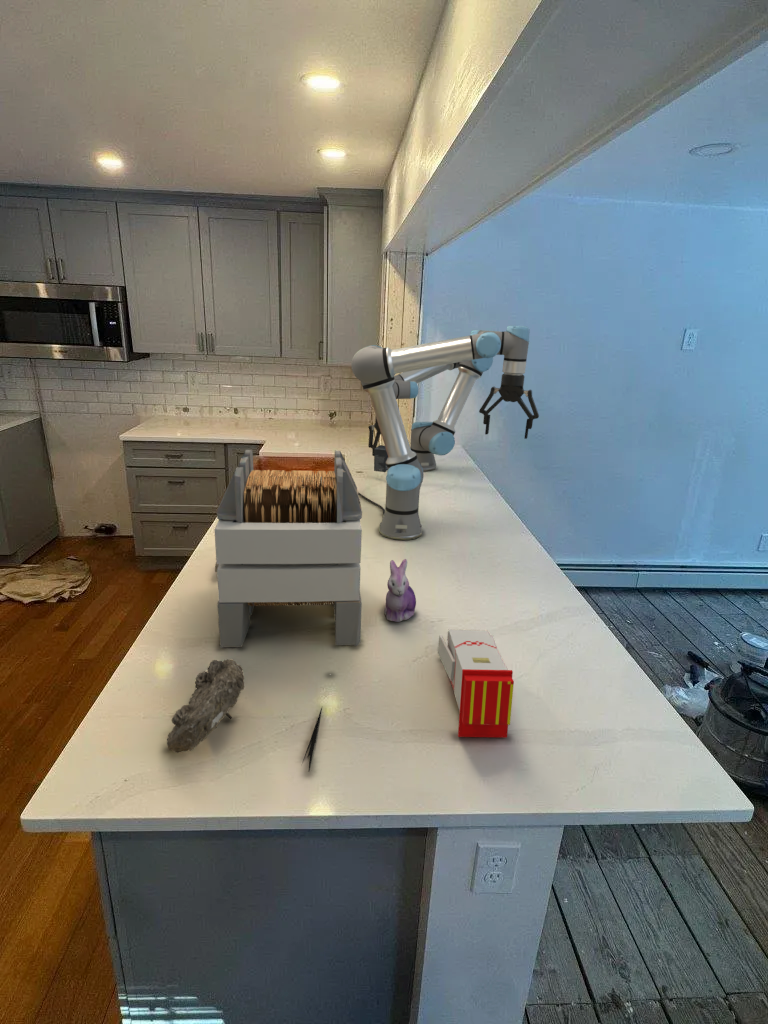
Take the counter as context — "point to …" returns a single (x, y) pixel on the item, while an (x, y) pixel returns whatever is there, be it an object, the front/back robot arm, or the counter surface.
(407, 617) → the figurine
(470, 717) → the toy
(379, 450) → the box
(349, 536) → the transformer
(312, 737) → the feather
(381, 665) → the counter surface
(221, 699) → the fossil
